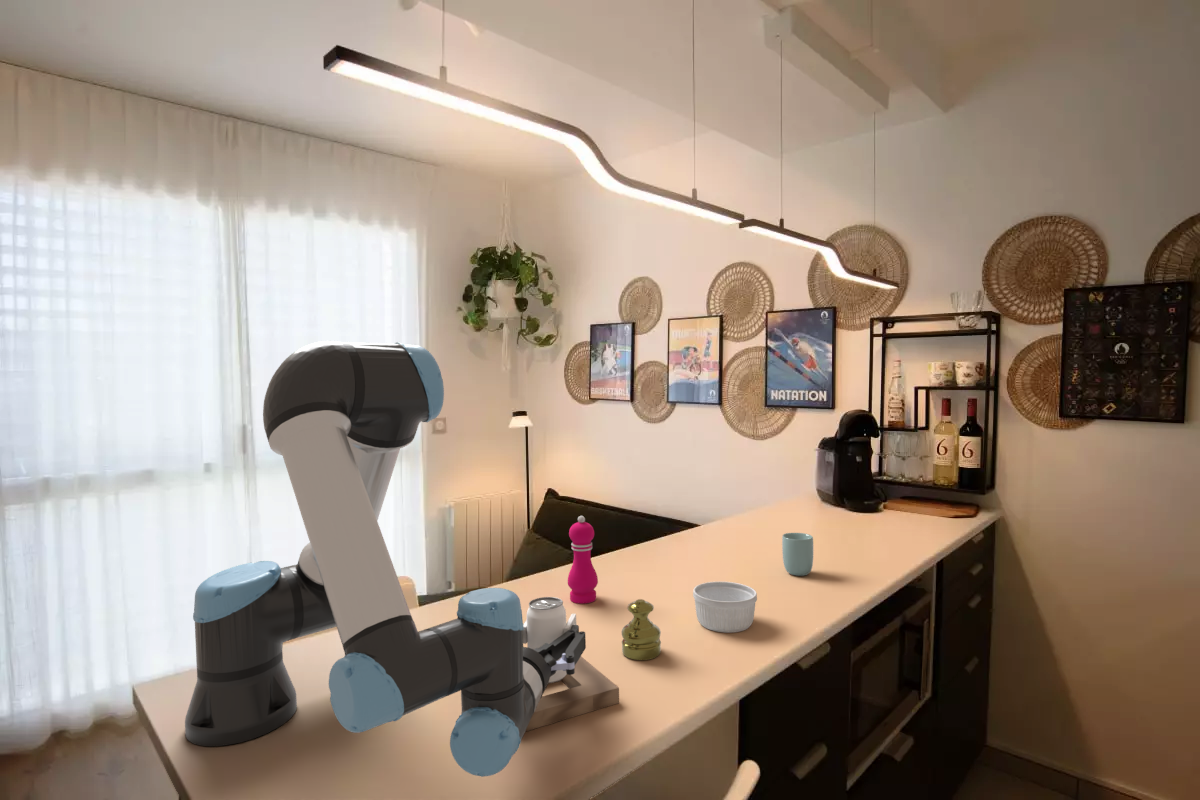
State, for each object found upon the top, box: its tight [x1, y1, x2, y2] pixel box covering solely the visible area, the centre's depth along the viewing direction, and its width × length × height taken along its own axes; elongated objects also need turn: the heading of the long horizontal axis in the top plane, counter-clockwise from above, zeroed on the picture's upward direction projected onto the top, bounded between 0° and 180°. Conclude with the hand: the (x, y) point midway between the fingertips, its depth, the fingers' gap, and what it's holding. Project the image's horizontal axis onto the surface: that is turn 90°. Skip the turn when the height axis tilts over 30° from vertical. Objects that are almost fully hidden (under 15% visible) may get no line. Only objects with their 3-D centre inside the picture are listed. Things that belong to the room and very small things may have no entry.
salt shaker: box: [621, 598, 662, 661], centre depth 119 cm, size 7×7×10 cm
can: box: [526, 596, 567, 684], centre depth 103 cm, size 6×6×12 cm
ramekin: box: [692, 581, 758, 634], centre depth 132 cm, size 13×13×7 cm
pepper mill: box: [567, 515, 599, 605], centre depth 149 cm, size 7×7×20 cm
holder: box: [525, 656, 620, 733], centre depth 103 cm, size 18×16×2 cm
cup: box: [781, 532, 814, 577], centre depth 165 cm, size 8×8×10 cm
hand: (553, 621), depth 108 cm, fingers closed on can, 6 cm apart
